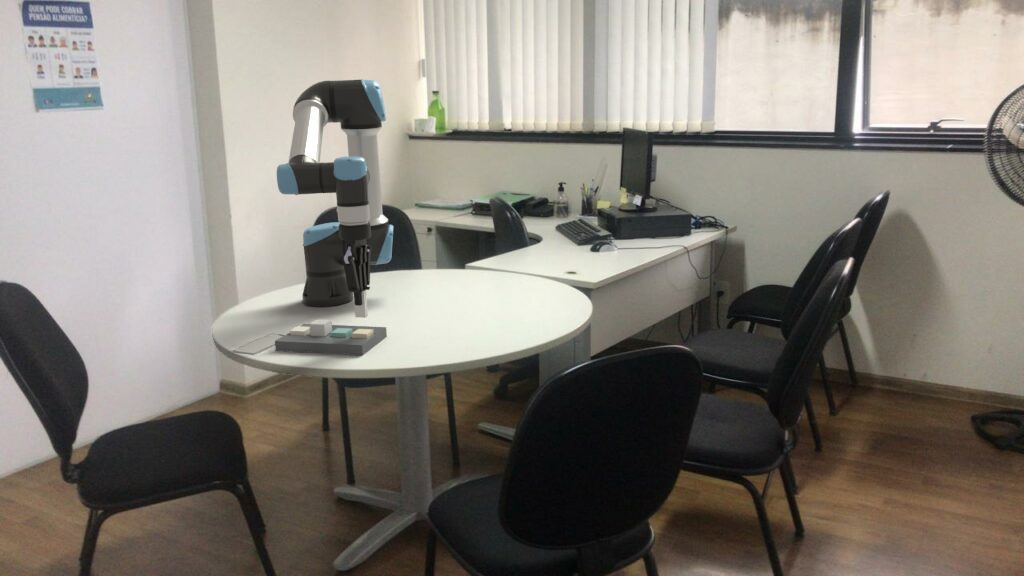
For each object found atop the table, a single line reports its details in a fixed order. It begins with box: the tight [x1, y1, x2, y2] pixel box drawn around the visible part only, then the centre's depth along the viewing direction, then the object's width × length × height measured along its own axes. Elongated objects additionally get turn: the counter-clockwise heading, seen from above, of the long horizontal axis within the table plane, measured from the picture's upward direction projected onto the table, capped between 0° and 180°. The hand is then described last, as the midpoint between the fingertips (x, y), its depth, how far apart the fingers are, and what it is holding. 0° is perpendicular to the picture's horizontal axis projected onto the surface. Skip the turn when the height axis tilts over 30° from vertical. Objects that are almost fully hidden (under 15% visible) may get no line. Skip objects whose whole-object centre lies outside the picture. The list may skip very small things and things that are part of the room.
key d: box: [352, 329, 374, 339], centre depth 197 cm, size 4×4×3 cm
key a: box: [289, 325, 310, 336], centre depth 201 cm, size 4×4×3 cm
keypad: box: [274, 323, 388, 356], centre depth 199 cm, size 15×23×2 cm, turn 77°
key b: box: [308, 319, 333, 337], centre depth 199 cm, size 4×4×3 cm
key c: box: [331, 328, 353, 338], centre depth 198 cm, size 4×4×3 cm
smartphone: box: [232, 333, 285, 355], centre depth 201 cm, size 7×1×15 cm
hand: (361, 316), depth 196 cm, fingers closed
